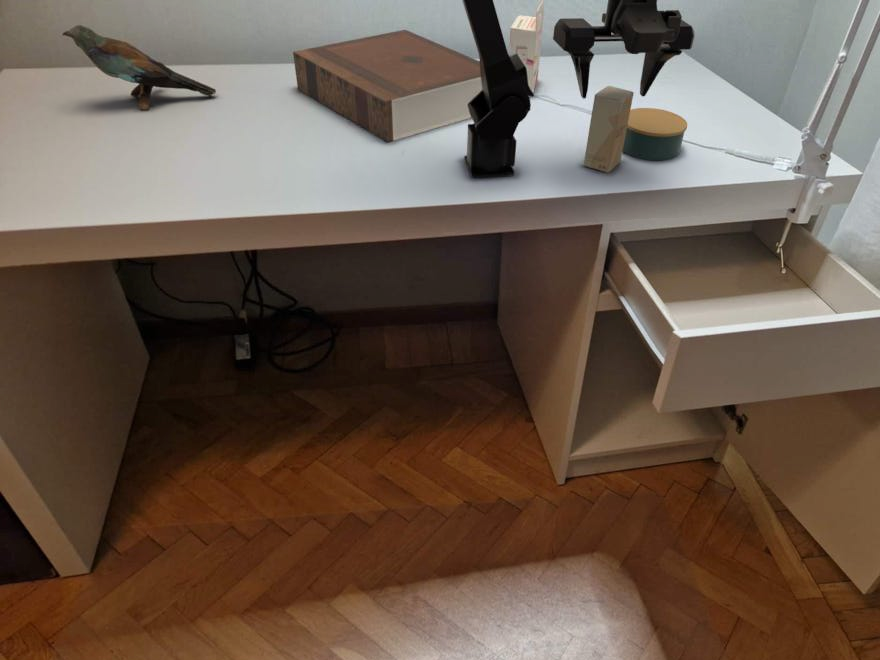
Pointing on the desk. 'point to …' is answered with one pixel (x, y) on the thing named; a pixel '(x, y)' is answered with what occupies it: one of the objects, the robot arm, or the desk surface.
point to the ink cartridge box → (528, 42)
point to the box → (608, 128)
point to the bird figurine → (131, 65)
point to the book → (390, 82)
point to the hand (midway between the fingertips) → (613, 96)
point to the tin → (654, 134)
